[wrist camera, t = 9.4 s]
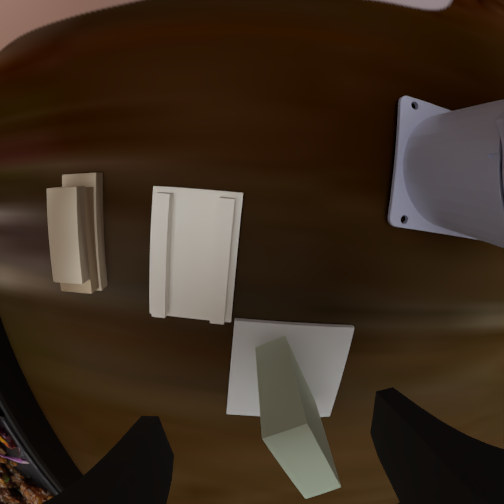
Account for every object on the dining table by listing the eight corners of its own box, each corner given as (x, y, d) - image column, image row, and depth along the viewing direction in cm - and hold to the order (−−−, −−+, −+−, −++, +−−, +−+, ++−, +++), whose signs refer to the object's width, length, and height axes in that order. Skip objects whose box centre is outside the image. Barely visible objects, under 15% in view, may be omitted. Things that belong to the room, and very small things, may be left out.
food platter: (-103, 305, 20) (-152, 334, 10) (-5, 292, 19) (-91, 346, 9) (39, 528, 30) (23, 565, 20) (159, 557, 30) (151, 607, 20)
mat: (352, 324, 20) (354, 327, 20) (328, 413, 22) (329, 416, 21) (234, 317, 20) (234, 320, 19) (226, 410, 21) (226, 414, 21)
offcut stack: (104, 172, 18) (78, 172, 14) (108, 284, 19) (87, 303, 16) (71, 174, 17) (43, 175, 14) (77, 282, 19) (53, 299, 16)
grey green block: (285, 335, 19) (307, 423, 12) (315, 400, 21) (341, 487, 13) (255, 347, 20) (262, 438, 12) (288, 410, 21) (305, 498, 13)
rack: (243, 192, 18) (243, 194, 16) (231, 318, 20) (230, 329, 18) (155, 185, 18) (148, 186, 16) (151, 310, 19) (145, 320, 18)
